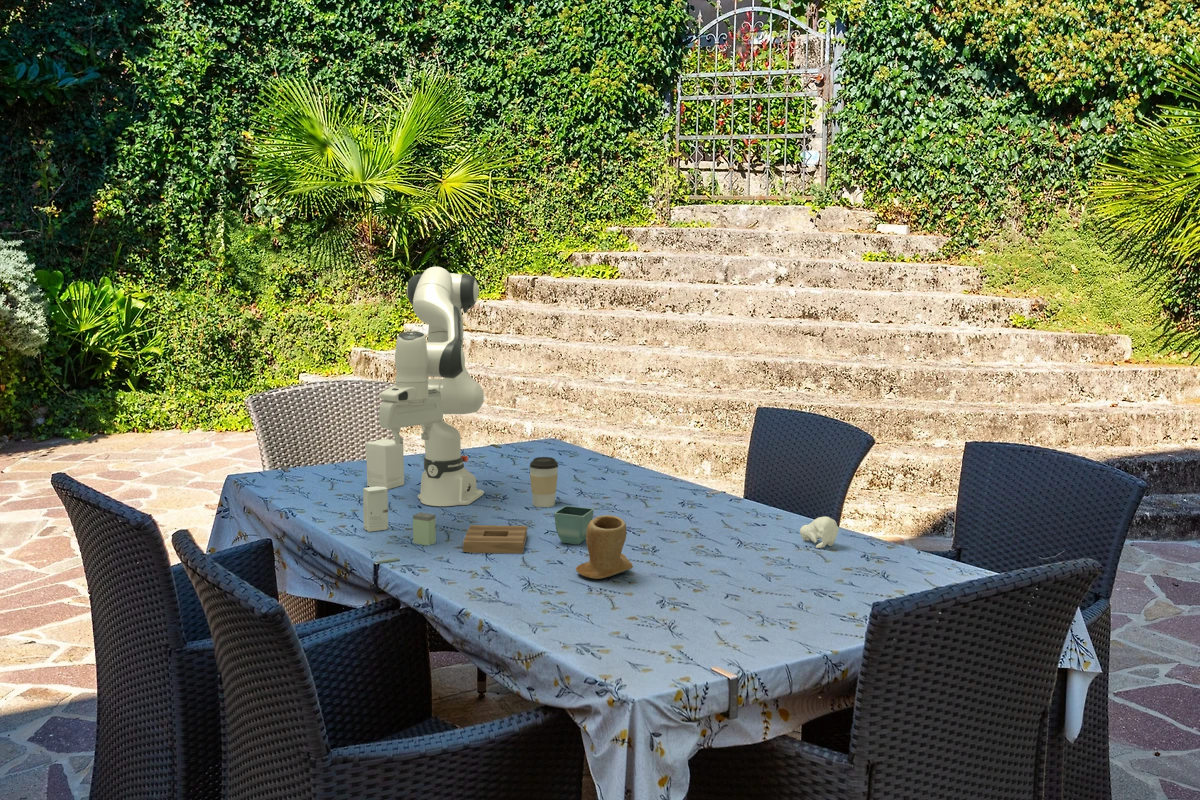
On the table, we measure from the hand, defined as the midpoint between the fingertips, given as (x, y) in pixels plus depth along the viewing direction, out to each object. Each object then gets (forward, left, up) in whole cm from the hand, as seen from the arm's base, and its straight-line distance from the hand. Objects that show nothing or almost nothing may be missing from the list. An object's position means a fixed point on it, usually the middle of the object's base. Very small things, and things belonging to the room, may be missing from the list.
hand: (412, 441), depth 299 cm
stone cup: (+2, +60, -28) cm, 67 cm away
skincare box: (-4, -16, -28) cm, 32 cm away
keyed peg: (+1, +4, -28) cm, 28 cm away
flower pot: (-19, +40, -28) cm, 53 cm away
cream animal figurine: (-48, +101, -28) cm, 115 cm away
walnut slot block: (-7, +22, -28) cm, 36 cm away
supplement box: (-47, -44, -28) cm, 70 cm away
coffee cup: (-50, +14, -28) cm, 59 cm away
